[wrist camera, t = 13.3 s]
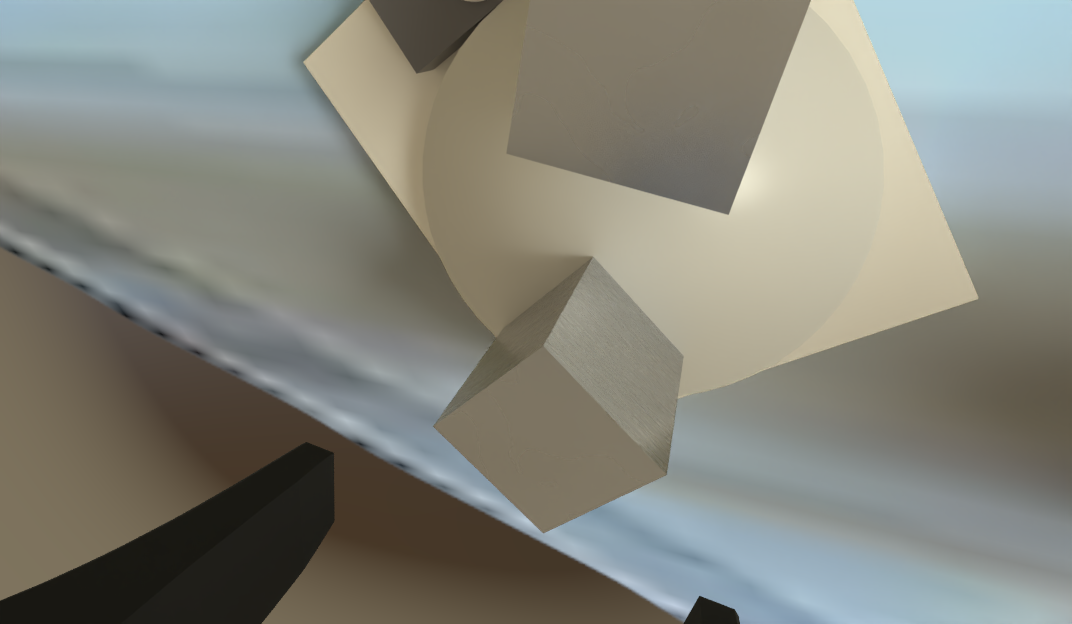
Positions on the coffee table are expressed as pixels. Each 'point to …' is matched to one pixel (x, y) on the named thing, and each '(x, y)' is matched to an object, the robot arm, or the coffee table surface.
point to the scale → (650, 220)
